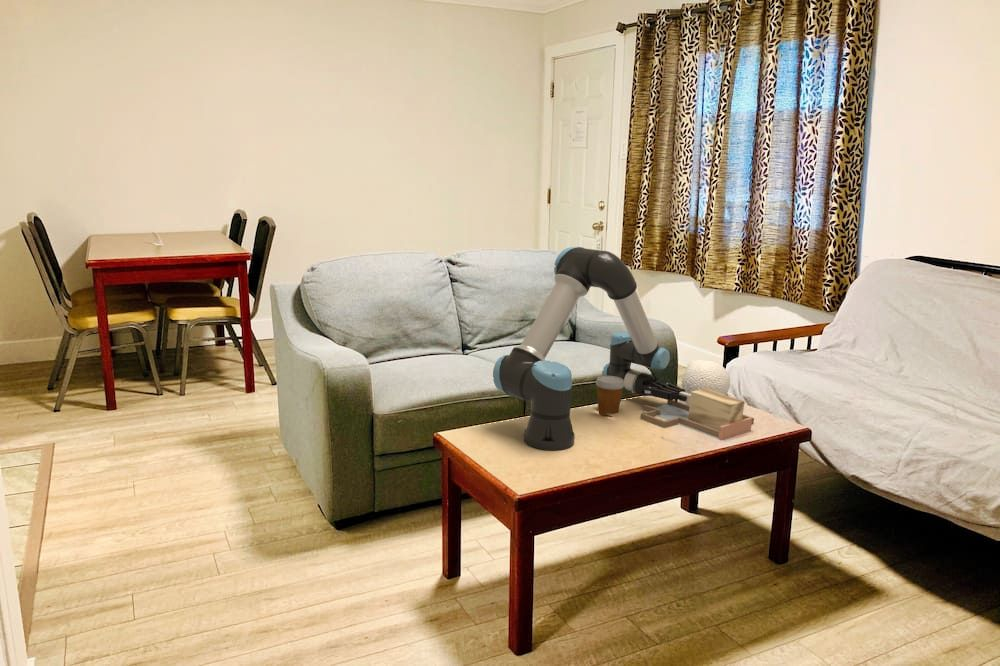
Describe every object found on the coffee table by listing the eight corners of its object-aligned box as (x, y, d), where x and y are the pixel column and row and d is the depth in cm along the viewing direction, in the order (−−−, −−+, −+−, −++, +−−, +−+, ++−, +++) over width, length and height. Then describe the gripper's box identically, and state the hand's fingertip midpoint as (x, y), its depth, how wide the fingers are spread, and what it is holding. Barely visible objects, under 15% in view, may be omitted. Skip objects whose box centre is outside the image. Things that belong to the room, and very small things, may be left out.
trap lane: (706, 448, 227) (708, 431, 226) (627, 417, 251) (628, 402, 250) (762, 430, 244) (764, 414, 242) (683, 403, 268) (684, 388, 267)
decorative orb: (696, 415, 256) (701, 369, 252) (662, 399, 271) (666, 356, 268) (741, 407, 265) (745, 363, 261) (705, 393, 280) (709, 351, 277)
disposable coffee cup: (624, 419, 250) (626, 384, 247) (595, 418, 250) (597, 383, 247) (620, 409, 259) (622, 375, 256) (592, 408, 259) (594, 374, 256)
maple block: (726, 436, 234) (730, 405, 232) (687, 421, 245) (690, 391, 243) (740, 431, 238) (744, 401, 236) (701, 417, 250) (704, 388, 247)
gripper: (651, 390, 269) (707, 408, 251) (626, 396, 261) (683, 416, 243) (653, 369, 267) (710, 386, 249) (628, 375, 259) (685, 393, 241)
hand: (696, 401), depth 246 cm, fingers closed
